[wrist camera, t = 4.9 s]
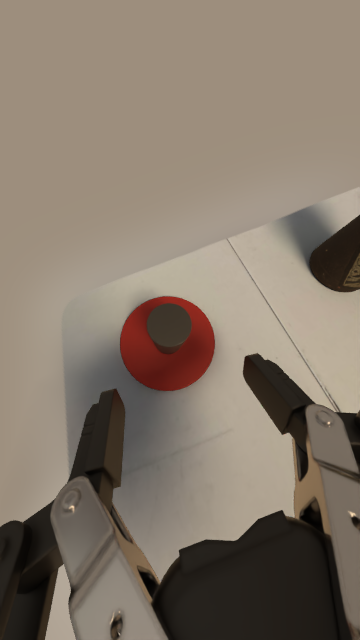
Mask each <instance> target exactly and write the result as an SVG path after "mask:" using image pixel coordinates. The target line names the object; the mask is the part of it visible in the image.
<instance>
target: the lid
mask: <svg viewBox="0 0 360 640" xmlns="http://www.w3.org/2000/svg"><path fill="white" fill-rule="evenodd" d="M214 348H215V339H214V333H213V329H212V326H211V324H210V322H209V320H208V318H207V317H206V315H205V314H204V313H203V312H202V311H201V310H200V309H199V308H198V307H197V306H195V305H194V304H193V303H191V302H189V301H187V300H184V299H182V298H177V297H158V298H154V299H151V300H149V301H147V302H145V303H143V304H141V305H140V306H139V307H137V308H136V309H135V310H134V311H133V312H132V313H131V315H130V316H129V317H128V319H127V320H126V322H125V324H124V326H123V330H122V333H121V338H120V350H121V355H122V359H123V361H124V364H125V366H126V368H127V369H128V371H129V372H130V373H131V375H132V376H133V377H134V378H135V379H136V380H138V381H139V382H140V383H142V384H144V385H145V386H147V387H150V388H152V389H156V390H162V391H173V390H178V389H182V388H185V387H187V386H189V385H191V384H192V383H194V382H195V381H197V380H198V379H199V378H200V377H201V376H202V375H203V374H204V373H205V371H206V370H207V368H208V367H209V365H210V363H211V361H212V357H213V354H214Z"/></svg>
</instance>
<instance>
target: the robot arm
mask: <svg viewBox="0 0 360 640" xmlns="http://www.w3.org/2000/svg"><path fill="white" fill-rule="evenodd" d="M243 376H244V379H245V381H246V383H247V384H248V386H249V387H250V389H251V390H252V391H253V393H254V394H255V396H256V397H257V399H258V400H259V402H260V403H261V405H262V406H263V408H264V409H265V411H266V412H267V413H268V415H269V416H270V418H271V419H272V421H273V422H274V424H275V425H276V427H277V428H278V430H279V431H280V432H281V434H282V435H283V434H286V433H290V434H291V436H292V437H293V439H292V444H293V457H294V469H295V491H294V513H295V518H293V517H289V516H285V514H284V512H283V510H281V511H278V512H275V513H273V514H270V515H268V516H265V517H263V518H260V519H258V520H257V521H256V522H255V523H254V524H253V525H252V526H251V527H250V528H249V529H248V530H247V531H246V532H245V533H244V534H243V535H242V536H241V537H240V538H239V539H238V540H236V541H223V540H204V541H201V542H198V543H196V544H193V545H191V546H188V547H186V548H183V549H180V550H179V555H180V556H179V557H178V558H177V559H176V560H175V561H174V562H173V564H172V565H171V566H170V567H169V569H168V571H167V572H166V574H165V575H164V577H163V579H162V581H161V582H160V581H159V579H158V577H157V575H156V574H155V572H154V570H153V569H152V567H151V565H150V563H149V562H148V560H147V558H146V557H145V555H144V554H143V552H142V551H141V549H140V548H139V547H138V545H137V544H136V542H135V541H134V539H133V537H132V536H131V534H130V532H129V530H128V529H127V527H126V525H125V523H124V522H123V520H122V518H121V516H120V515H119V513H118V511H117V509H116V508H115V506H114V504H113V502H112V496H113V489H114V488H117V487H120V486H121V473H122V457H123V442H124V426H125V407H124V403H123V401H122V399H121V397H120V395H119V393H118V391H117V389H112V390H108V391H104V392H102V393H101V395H100V399H99V403H97V404H93V405H92V407H91V408H90V410H89V412H88V413H87V415H86V419H85V422H84V428H83V430H82V434H81V437H80V441H79V445H78V449H77V453H76V456H75V460H74V464H73V468H72V471H71V475H70V478H69V480H68V482H67V484H66V485H65V486H64V487H63V488H62V489H61V491H60V492H59V494H58V495H57V497H56V498H55V499H54V500H53V501H52V502H51V503H50V504H48V505H47V506H46V507H44V508H43V509H41V510H40V511H38V512H37V513H36V514H34V515H33V516H31V517H30V518H28V519H27V520H26V521H24V522H23V523H22V522H20V521H10V522H8V523H6V524H4V525H3V526H1V527H0V640H45V636H46V630H47V625H48V620H49V615H50V610H51V605H52V599H53V594H54V589H55V584H56V578H57V574H58V568H59V567H60V566H62V565H63V564H64V566H65V569H66V572H67V576H68V579H69V582H70V587H71V594H70V597H69V603H68V604H69V614H70V619H71V623H72V626H73V630H74V633H75V637H76V640H360V411H359V412H358V413H357V414H356V413H339V412H334V411H332V410H331V409H329V408H327V407H325V406H322V405H318V404H316V403H315V402H313V401H312V400H311V399H310V398H309V397H308V396H307V395H306V394H305V393H304V392H303V391H302V389H301V388H300V387H299V386H298V385H297V384H296V383H295V382H294V381H293V380H292V379H290V378H289V376H288V375H287V374H286V373H284V371H283V370H282V369H281V368H280V367H279V366H278V365H277V364H275V363H273V362H272V361H270V360H264V359H263V358H262V357H261V355H259V354H258V353H256V354H252V355H248V356H245V359H244V368H243ZM118 632H119V633H120V636H119V634H118Z"/></svg>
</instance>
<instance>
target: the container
mask: <svg viewBox="0 0 360 640" xmlns="http://www.w3.org/2000/svg"><path fill="white" fill-rule="evenodd" d="M310 267H311V270H312V272H313V274H314V275H315V276H316V278H317V279H318V280H319V281H320V282H321V283H323V284H324V285H325V286H327V287H329V288H331V289H333V290H336V291H340V292H352V291H356V290H358V289H360V215H359V216H358V217H356V218H355V219H354V220H352V221H351V222H350V223H349V224H347V225H346V226H345V227H343V228H342V229H341V230H339V231H338V232H337V233H335V234H334V235H333V236H331V237H330V238H329V239H327V240H326V241H325V242H324V243H322V244H321V245H320V246H319V247H317V248H316V249H315V250H314V251H313V253H312V255H311V257H310Z"/></svg>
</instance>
